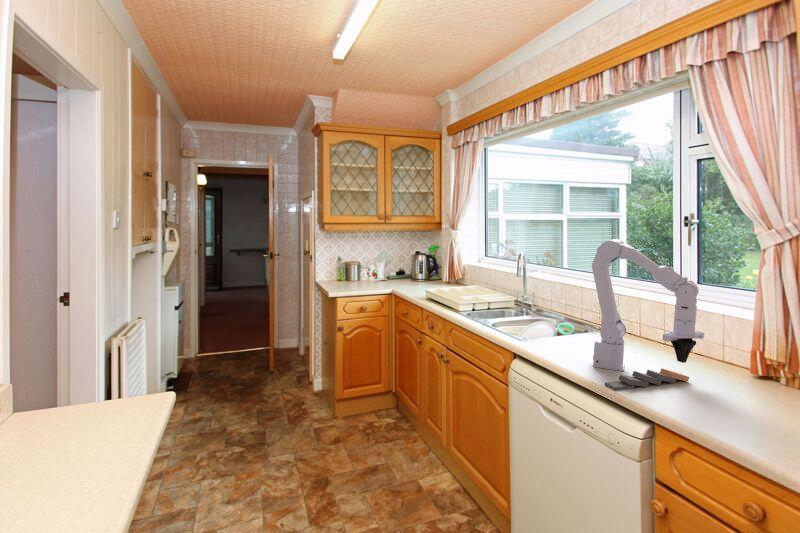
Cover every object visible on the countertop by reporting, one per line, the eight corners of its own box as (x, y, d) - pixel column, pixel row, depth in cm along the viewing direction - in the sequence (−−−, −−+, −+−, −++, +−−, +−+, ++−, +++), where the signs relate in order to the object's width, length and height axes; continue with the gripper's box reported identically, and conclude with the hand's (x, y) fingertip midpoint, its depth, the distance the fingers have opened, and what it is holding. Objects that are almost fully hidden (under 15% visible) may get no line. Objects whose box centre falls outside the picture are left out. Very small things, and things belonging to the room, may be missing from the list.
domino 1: (634, 390, 132) (614, 392, 130) (623, 384, 136) (604, 387, 135) (634, 385, 132) (615, 387, 130) (623, 380, 136) (604, 382, 134)
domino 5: (687, 381, 138) (672, 377, 135) (675, 377, 142) (659, 372, 140) (689, 377, 138) (673, 372, 135) (676, 372, 142) (661, 368, 140)
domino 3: (660, 385, 135) (643, 380, 132) (648, 380, 139) (632, 375, 137) (661, 380, 135) (645, 375, 132) (649, 375, 139) (633, 370, 137)
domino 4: (674, 383, 136) (657, 379, 134) (662, 378, 140) (646, 374, 138) (675, 378, 136) (659, 374, 134) (663, 373, 140) (647, 369, 138)
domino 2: (647, 387, 133) (629, 384, 131) (635, 382, 137) (618, 379, 135) (648, 382, 133) (631, 379, 131) (637, 377, 137) (619, 374, 135)
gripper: (677, 323, 132) (674, 367, 133) (714, 321, 136) (711, 363, 137) (658, 318, 138) (655, 360, 140) (693, 316, 142) (690, 356, 144)
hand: (681, 361), depth 139 cm, fingers closed
